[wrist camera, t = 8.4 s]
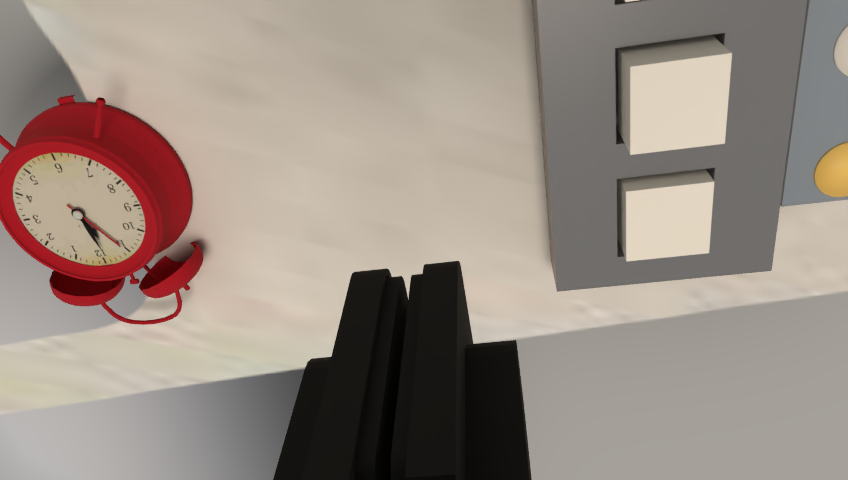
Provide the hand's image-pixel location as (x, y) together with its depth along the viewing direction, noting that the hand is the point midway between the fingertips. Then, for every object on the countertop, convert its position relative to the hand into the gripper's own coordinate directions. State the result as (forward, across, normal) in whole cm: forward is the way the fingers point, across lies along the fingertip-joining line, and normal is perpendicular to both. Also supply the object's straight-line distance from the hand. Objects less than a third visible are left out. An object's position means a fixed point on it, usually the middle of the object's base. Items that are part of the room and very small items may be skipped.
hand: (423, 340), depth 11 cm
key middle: (+25, -10, +6) cm, 28 cm away
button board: (+27, -10, +6) cm, 29 cm away
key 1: (+26, -10, +13) cm, 31 cm away
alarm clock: (+28, +22, +10) cm, 37 cm away
